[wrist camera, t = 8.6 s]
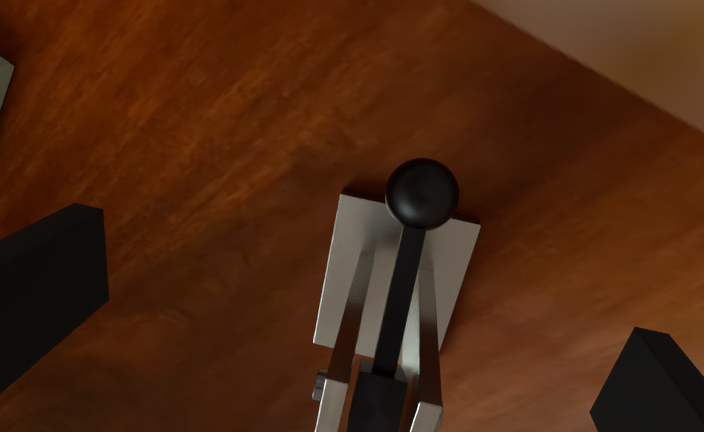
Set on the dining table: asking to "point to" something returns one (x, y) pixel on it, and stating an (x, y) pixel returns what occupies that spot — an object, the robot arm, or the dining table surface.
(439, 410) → the bracket
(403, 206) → the lever
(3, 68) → the block
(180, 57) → the dining table surface
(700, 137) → the dining table surface
